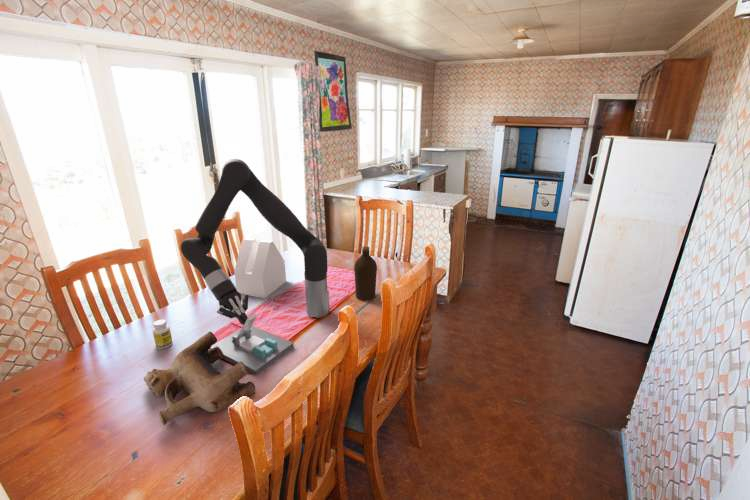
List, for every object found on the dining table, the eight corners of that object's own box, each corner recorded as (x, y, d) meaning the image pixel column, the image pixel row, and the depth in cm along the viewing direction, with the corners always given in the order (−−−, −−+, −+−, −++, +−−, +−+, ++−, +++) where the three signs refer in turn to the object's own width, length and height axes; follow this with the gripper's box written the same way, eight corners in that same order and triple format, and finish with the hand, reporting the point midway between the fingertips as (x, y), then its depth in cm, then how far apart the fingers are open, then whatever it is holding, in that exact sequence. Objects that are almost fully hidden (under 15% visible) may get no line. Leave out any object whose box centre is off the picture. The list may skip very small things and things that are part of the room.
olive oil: (363, 303, 164) (363, 253, 155) (350, 295, 172) (349, 246, 163) (381, 297, 170) (382, 248, 161) (367, 289, 178) (367, 241, 169)
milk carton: (264, 298, 168) (259, 248, 159) (237, 293, 172) (230, 244, 163) (286, 281, 185) (282, 235, 176) (260, 277, 189) (255, 232, 180)
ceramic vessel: (207, 320, 123) (125, 362, 107) (255, 367, 105) (165, 426, 89) (215, 348, 129) (139, 391, 113) (262, 397, 111) (180, 456, 95)
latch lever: (244, 332, 134) (255, 313, 126) (246, 335, 133) (257, 316, 126) (237, 337, 131) (247, 317, 124) (239, 339, 131) (250, 320, 124)
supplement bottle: (165, 350, 130) (160, 327, 127) (152, 348, 131) (147, 325, 128) (176, 341, 135) (171, 319, 132) (163, 339, 136) (158, 317, 133)
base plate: (248, 328, 144) (247, 316, 142) (293, 347, 133) (292, 334, 131) (209, 351, 130) (207, 339, 128) (256, 375, 118) (254, 361, 117)
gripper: (207, 286, 122) (235, 328, 121) (239, 273, 132) (265, 311, 131) (200, 296, 126) (227, 336, 125) (231, 282, 137) (256, 319, 136)
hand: (246, 323), depth 128 cm, fingers closed
